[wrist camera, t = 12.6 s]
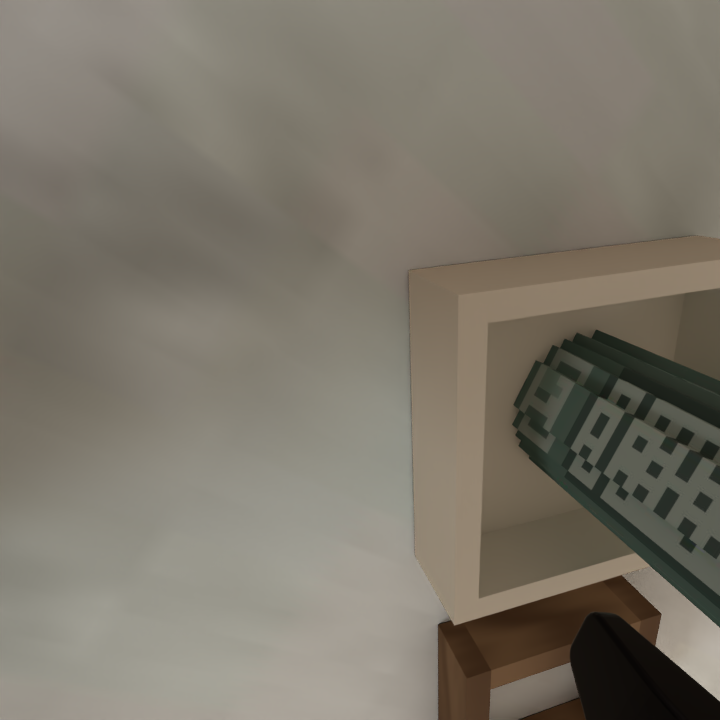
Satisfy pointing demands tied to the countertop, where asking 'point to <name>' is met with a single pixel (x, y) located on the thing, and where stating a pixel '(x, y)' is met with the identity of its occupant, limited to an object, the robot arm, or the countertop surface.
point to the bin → (497, 413)
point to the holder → (527, 646)
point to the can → (633, 452)
